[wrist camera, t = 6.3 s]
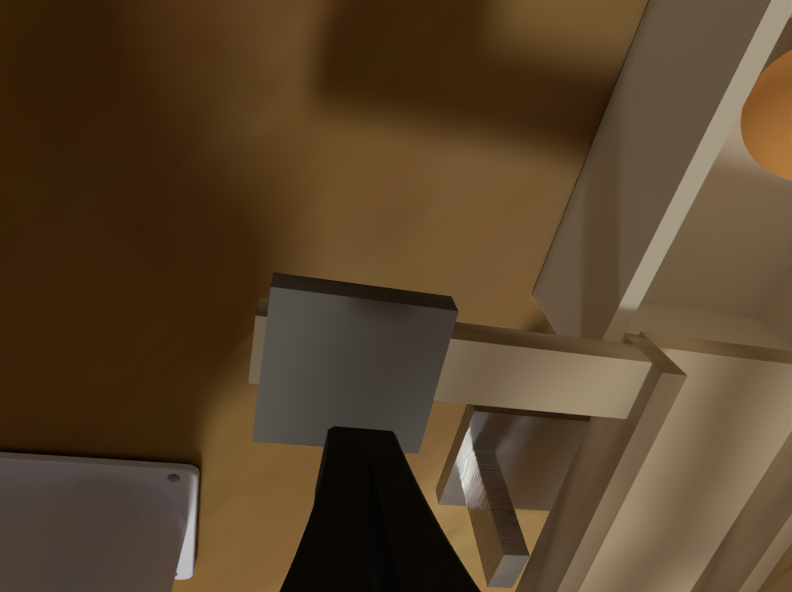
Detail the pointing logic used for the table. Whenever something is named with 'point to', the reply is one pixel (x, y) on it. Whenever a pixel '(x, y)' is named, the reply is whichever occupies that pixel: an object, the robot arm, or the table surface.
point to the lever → (563, 393)
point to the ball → (770, 118)
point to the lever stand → (507, 477)
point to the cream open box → (679, 191)
